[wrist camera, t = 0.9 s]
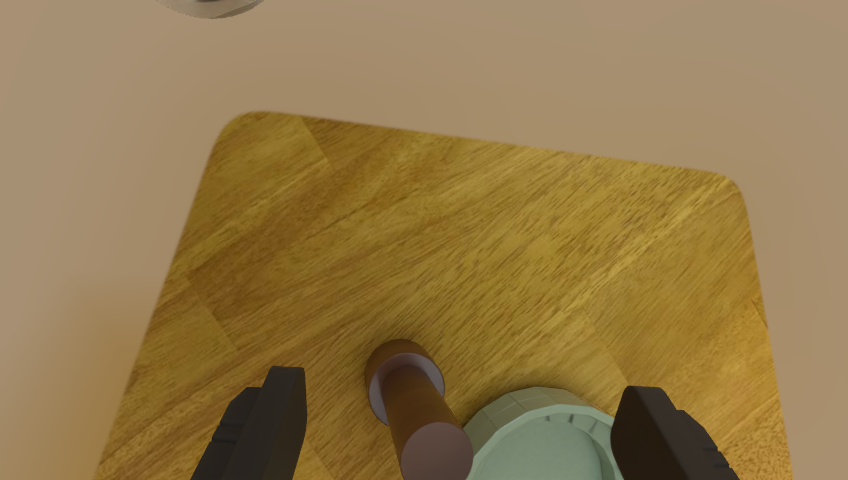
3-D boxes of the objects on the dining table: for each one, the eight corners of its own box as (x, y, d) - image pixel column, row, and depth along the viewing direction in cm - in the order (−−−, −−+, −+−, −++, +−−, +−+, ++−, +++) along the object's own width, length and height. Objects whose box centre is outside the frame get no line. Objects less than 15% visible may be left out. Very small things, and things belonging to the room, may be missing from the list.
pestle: (352, 360, 32) (360, 441, 19) (413, 326, 32) (461, 382, 20) (384, 419, 32) (413, 538, 19) (443, 385, 33) (509, 477, 20)
